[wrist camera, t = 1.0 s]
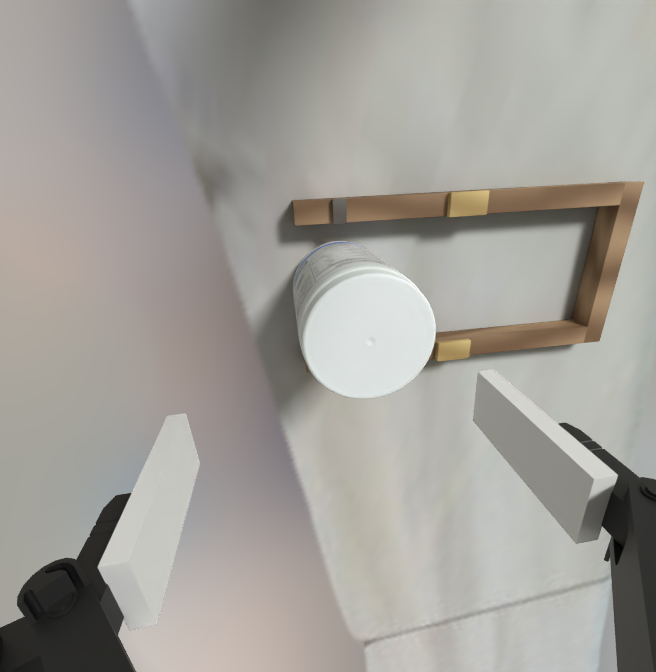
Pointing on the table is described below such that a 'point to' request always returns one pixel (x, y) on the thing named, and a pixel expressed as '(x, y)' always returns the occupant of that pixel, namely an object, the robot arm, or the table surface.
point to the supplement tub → (360, 321)
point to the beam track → (608, 229)
